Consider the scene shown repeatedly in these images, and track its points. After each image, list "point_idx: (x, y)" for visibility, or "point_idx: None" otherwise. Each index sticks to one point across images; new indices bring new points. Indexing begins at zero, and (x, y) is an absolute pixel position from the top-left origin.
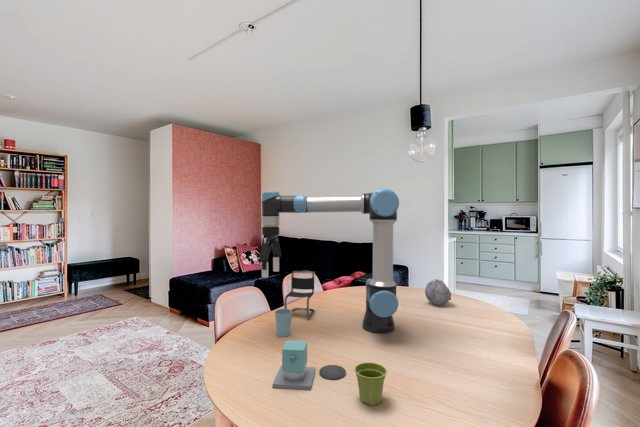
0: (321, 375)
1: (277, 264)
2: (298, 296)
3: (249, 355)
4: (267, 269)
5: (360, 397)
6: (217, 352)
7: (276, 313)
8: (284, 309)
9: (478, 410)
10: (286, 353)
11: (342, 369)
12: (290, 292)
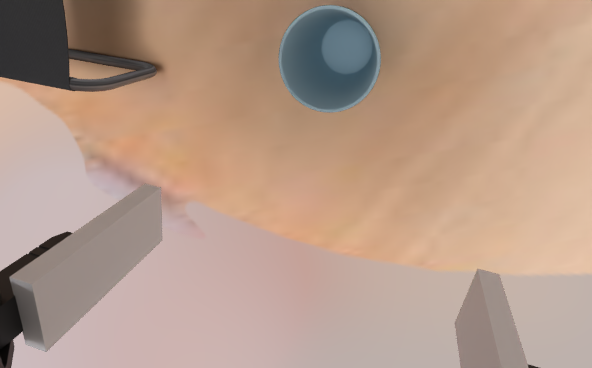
0: None
1: (109, 239)
2: (48, 10)
3: (569, 155)
4: (517, 347)
5: None
6: (517, 267)
7: (363, 98)
8: (282, 63)
9: None
10: None
11: None
12: (6, 71)
